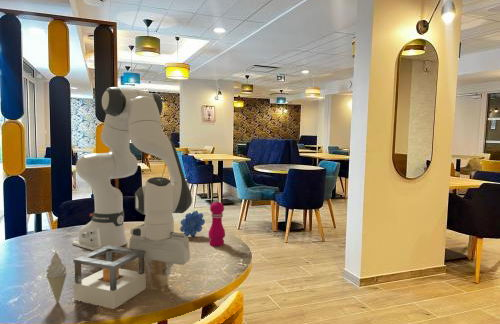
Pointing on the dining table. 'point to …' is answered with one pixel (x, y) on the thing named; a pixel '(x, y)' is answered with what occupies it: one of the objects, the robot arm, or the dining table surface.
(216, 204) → the pepper mill
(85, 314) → the dining table surface
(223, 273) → the dining table surface
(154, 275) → the wooden toy block
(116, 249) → the guard frame
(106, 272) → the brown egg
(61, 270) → the ice cream cone
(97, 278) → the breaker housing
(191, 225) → the blue flower gear
